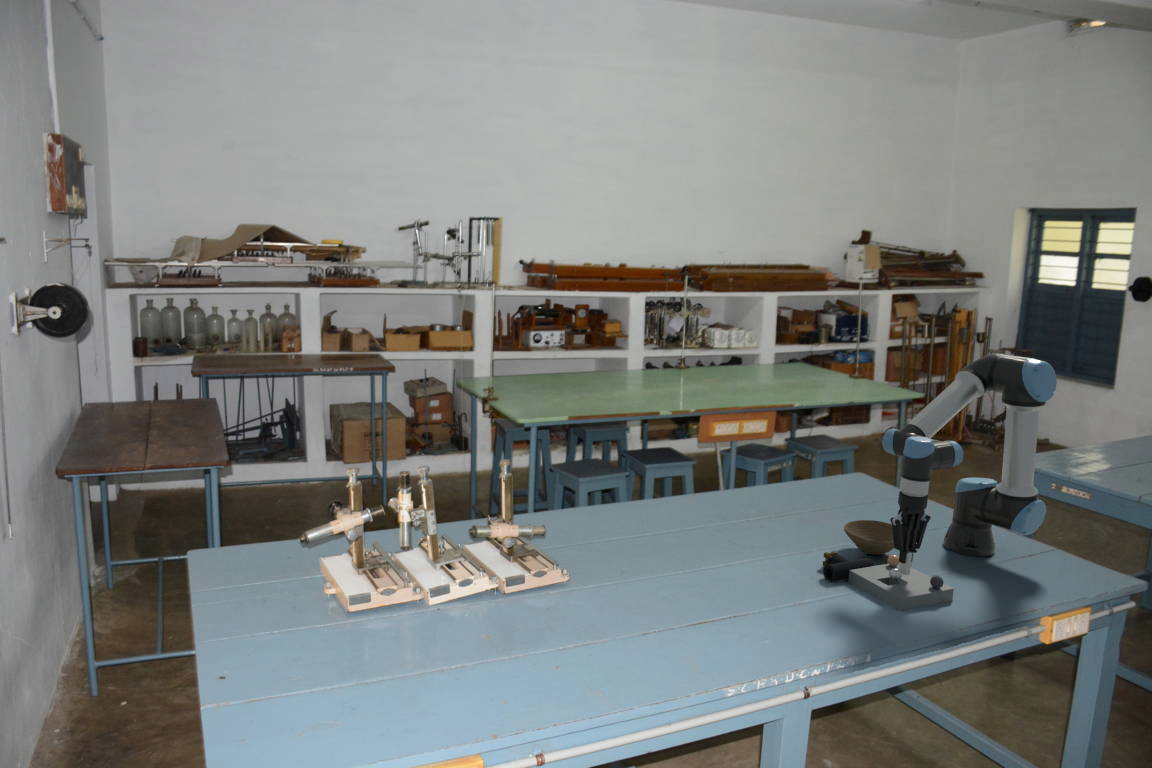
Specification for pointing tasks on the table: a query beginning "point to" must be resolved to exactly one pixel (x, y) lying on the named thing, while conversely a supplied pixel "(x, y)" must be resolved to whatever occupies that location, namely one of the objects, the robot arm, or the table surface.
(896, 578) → the steel ball
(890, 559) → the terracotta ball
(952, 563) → the table surface
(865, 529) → the bowl
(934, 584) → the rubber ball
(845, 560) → the pipe connector
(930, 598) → the slate board
